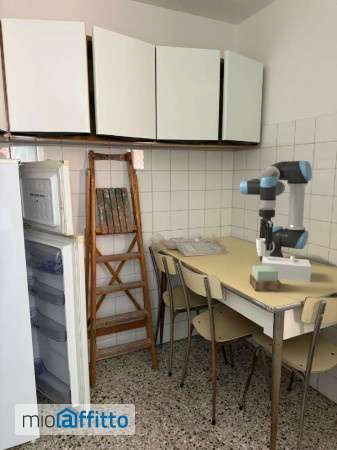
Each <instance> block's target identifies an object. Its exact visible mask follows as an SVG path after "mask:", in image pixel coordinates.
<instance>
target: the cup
mask: <svg viewBox="0 0 337 450" xmlns="http://www.w3.org/2000/svg"><path fill="white" fill-rule="evenodd" d="M264 242H265V238H259V237H257V238H255V243H256V246H255V247H256V251H257V256H259V257H260V256H264ZM272 243H273V242H272ZM274 248H275V246H274V243H273V250H274ZM273 250H272V251H271V252H273ZM271 252H270V253H271Z"/></svg>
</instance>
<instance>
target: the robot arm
mask: <svg viewBox="0 0 337 450" xmlns="http://www.w3.org/2000/svg"><path fill="white" fill-rule="evenodd" d="M312 172H313V171H312V166H311V163H310V162H309V161H307V160H292V161H289V160H287V161H286V160H283V161H279V162H276V163H273V164H271V165H269V166H267V167H266V168H265V169H264V171H263V172H261V173H260V174H259V173H258V175H256V176H255V177H253V178H252V179H250V180H242V181H240V184H239V192H240V194H242V195H247V196H248V195H249V196H259V201H258V204H259V209H258V210H259V211H258V216H259V217H260V221H259V222H260V225H259V226H260V227H259V236H258V238H265V242H264V257H270V256H271V257H281V258H284V255H283V250H282V248H288V249H295V250H303V249H304V248H305V247H306V245H307V242H308V239H309V232H308V231H307V230H306V226H304V214H305V213H304V212H305V211H304V208H305V196H306V195H305V192H306V186H307V185H308V184H309V181H311V180H312V178H313V177H312V175H313V173H312ZM282 181H286V182H287V185H288V186H289V196H288V197H289V198H288V219H287V220H288V221H287V225H286V226H285V228H284V226H283V225H274V223H273V222H272V219H273V218H275V217H276V208H277V207H276V205H277V203H276V202H277V196H278V197H279V196H281V195H283V193H284V192H285V191H286V187H285V186H286V185H285V184H284V182H282ZM272 242H273V243H274V246H275V248H274V250H273V243H272ZM272 250H273V252H271V251H272ZM270 252H271V253H270ZM262 258H263V256H259V261H260V262H262Z"/></svg>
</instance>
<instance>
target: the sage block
mask: <svg viewBox="0 0 337 450" xmlns="http://www.w3.org/2000/svg"><path fill="white" fill-rule="evenodd" d="M251 270H252V271H251V274H252V275H253V276H254V278H255V279H256V280H257V281H278V280H279V279H278V271H277V270H276V269H275V268H274V267H273V266H262V265H252V269H251Z"/></svg>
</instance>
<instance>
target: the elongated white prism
mask: <svg viewBox="0 0 337 450" xmlns="http://www.w3.org/2000/svg"><path fill="white" fill-rule="evenodd" d="M261 266H273V267H274V268H275V269H276V270H277V271H278V280H287V281H297V282H306V283H310V282H311V275H312V265H311V263H310V260H309V259H304V258H303V259H302V258H295V256H294V255H290V258H288V257H283V258H281V257H271V256H270V257H264V256H263V258H262V261H261Z"/></svg>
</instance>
